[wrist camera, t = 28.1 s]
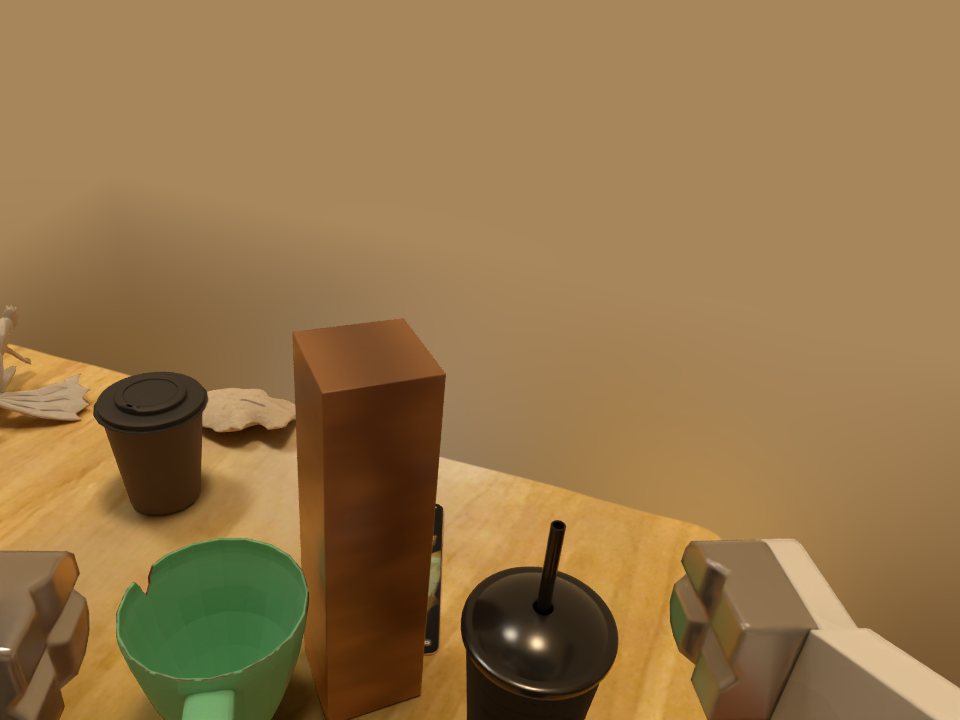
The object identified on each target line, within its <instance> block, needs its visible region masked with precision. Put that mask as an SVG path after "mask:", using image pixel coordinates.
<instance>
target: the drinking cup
mask: <svg viewBox="0 0 960 720" xmlns="http://www.w3.org/2000/svg"><path fill="white" fill-rule="evenodd" d="M565 529H566V525H565V523H564V522H562V521H559V520H555V521H553V522H552V523H551V526H550V532H549V537H548V543H547V549H546V554H545V560H544V565H543V568H542V567H516V568H510V569H506V570H503V571H500V572H497V573H495V574H493V575H491V576H489V577H488V578H486V579H485V580H483V581H482V582H481V583H480V584H478V585H477V586H476V587H475V589H474V590H473V591H472V592H471V594H470V595H469V597H468V598H467V600H466V602H465V605H464V608H463V611H462V617H461V634H462V639H463V643H464V646H465V649H466V671H467V720H584V719H585V717H586V715H587V712H588V710H589V707H590V705H591V702H592V700H593V698H594V695H595V693H596V690H597V688H598V685H599V683H600V682H601V681H602V680H603V679H604V678H605V677H606V675H607V674H608V673H609V671H610V670H611V668H612V666H613V664H614V661H615V658H616V655H617V650H618V631H617V626H616V623H615V620H614V618H613V615H612V613H611V611H610V610H609V608H608V606H607V605H606V604H605V602H604V601H603V600H602V599H601V597H600V596H599V595H598V594H597V593H596V592H595V591H593V590H592V589H591V588H590V587H589V586H587V585H586V584H584V583H583V582H581V581H580V580H578V579H576V578H574V577H572V576H570V575H568V574H565V573H562V572H560V571H558V566H559V560H560V555H561V550H562V545H563V540H564V535H565Z"/></svg>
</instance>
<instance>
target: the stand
mask: <svg viewBox="0 0 960 720" xmlns="http://www.w3.org/2000/svg"><path fill="white" fill-rule="evenodd" d="M293 359H294V383H295V384H294V385H295V410H296V436H297V462H298V488H299V514H300V540H301V565H302V571H303V572H304V575H305V579H306V582H307V586H308V590H309V606H308V613H307V620H306V627H305V630H304V643H305V652H306V655H307V658H308V662H309V665H310V668H311V672H312V675H313V678H314V682H315V685H316V688H317V692H318V695H319V698H320V701H321V705H322V708H323V711H324V715H325V718H326V720H348V719H350V718H353V717H356V716H359V715H362V714H365V713H368V712H371V711H374V710H377V709H380V708H383V707H386V706H389V705H392V704H395V703H398V702H401V701H404V700H407V699H410V698H413V697H416V696H419V695H420V694H421V682H422V669H423V657H424V644H425V631H426V619H427V606H428V593H429V581H430V568H431V555H432V543H433V530H434V517H435V505H436V492H437V479H438V467H439V454H440V441H441V429H442V416H443V403H444V390H445V378H446V374H445V372H444V371H443V370H442V368H441V367H440V366H439V364H438V363H437V362H436V360H435V359H434V358H433V356H432V355H431V354H430V352H429V351H428V350H427V348H426V347H425V346H424V344H423V343H422V342H421V340H420V339H419V338H418V337H417V335H416V334H415V332H414V331H413V330H412V328H411V327H410V326H409V325H408V323H407V322H406V321H405V319H403V318H402V319H394V320H386V321H377V322H369V323H361V324H353V325H345V326H336V327H329V328H320V329H313V330H304V331H296V332H293Z"/></svg>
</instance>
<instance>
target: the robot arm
mask: <svg viewBox="0 0 960 720" xmlns="http://www.w3.org/2000/svg"><path fill="white" fill-rule="evenodd" d="M681 562H682V564H683V567H684V569H685V571H686V573H687V574H686V575H685V576H683V577H682V578H681V579H680V580H679V581H678V582H676V583H675V584H674V587H673V591H672V595H671V599H670V623H671V627H672V632H673V636H674V639H675V641H676V644H677V647H678V649H679V652H680V653H682V654H683V655H684V656H685V657H686V658H688V659H689V660H690V661H691V662H692V663H694V664H695V665H696V666H695V669H694V672H693V675H692V678H691V681H692V684H693V686H694V689H695V691H696V693H697V696H698V698H699V701H700V703H701V705H702V708H703V710H704V713H705V715H706V718H707V720H960V688H958V687H957V686H955V685H954V684H952V683H951V682H949V681H948V680H946V679H945V678H943V677H942V676H940V675H939V674H937V673H935V672H934V671H932V670H931V669H930V668H928V667H926V666H925V665H923V664H922V663H920V662H919V661H917V660H916V659H914V658H913V657H911V656H910V655H908V654H907V653H905V652H903V651H902V650H901V649H899V648H898V647H896V646H895V645H893V644H892V643H890V642H888V641H887V640H885V639H884V638H882V637H881V636H879V635H878V634H876V633H875V632H873V631H872V630H870V629H869V628H857V626H856V625H855V623H854V622H853V620H852V619H851V617H850V616H849V614H848V613H847V611H846V610H845V608H844V607H843V605H842V604H841V602H840V601H839V599H838V598H837V596H836V595H835V594H834V592H833V590H832V589H831V588H830V586H829V585H828V583H827V582H826V580H825V579H824V577H823V576H822V574H821V573H820V572H819V570H818V568H817V567H816V565H815V564H814V562H813V561H812V559H811V558H810V557H809V555H808V554H807V552H806V551H805V549H804V548H803V546H802V545H801V544H800V543H799V542H797V541H796V540H795V539H793V538H788V539H759V540H717V541H691V542H690V543H689V545H688V546H687V547H686V548H685V551H684V554H683V557H682V560H681ZM79 574H80V572H79V569H78V566H77V562H76V559H75V555H74V554H73V553H70V552H67V551H0V720H60V717H61V715H62V712H63V710H64V707H65V706H64V702H63V698H62V695H61V691H60V689H61V688H62V687H63V686H64V685H65V684H67V683H68V682H69V681H70V680H71V679H73V678H74V677H75V676H76V675H77V674H78V672H79V669H80V666H81V664H82V661H83V658H84V656H85V652H86V647H87V641H88V636H89V610H88V606H87V601H86V598H85V597H83V596H82V595H81V594H80V593H78V592H77V591H76V590H74V589H73V587H74V585H75V583H76V580H77V578H78V576H79Z"/></svg>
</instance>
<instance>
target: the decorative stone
mask: <svg viewBox="0 0 960 720" xmlns="http://www.w3.org/2000/svg"><path fill="white" fill-rule="evenodd" d="M207 394H208V400H209V401H208V403H207V406H206V408H205V410H204V411H203V415H202V426H203V427H206V428H212V429H213V430H214V431H215V432H231V431H238V430H242V429H244V428H247V427H250V426H253V425H258V424H259V425H262V426H264V427H266V428H267V430H272V429H276V428H284V427H286V426H287V424H288V423H289V422H290V421H291V420H293V419H294V418H295V416H296V410H295V405H294V404H292V403H291V402H289V401H287V400H286V399H275V398H271V397H268V395H267V393H266V392H265V391H263V390H261V389H246V390H245V389H239V388H227V389H220V390H213V391H209V392H207Z"/></svg>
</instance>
